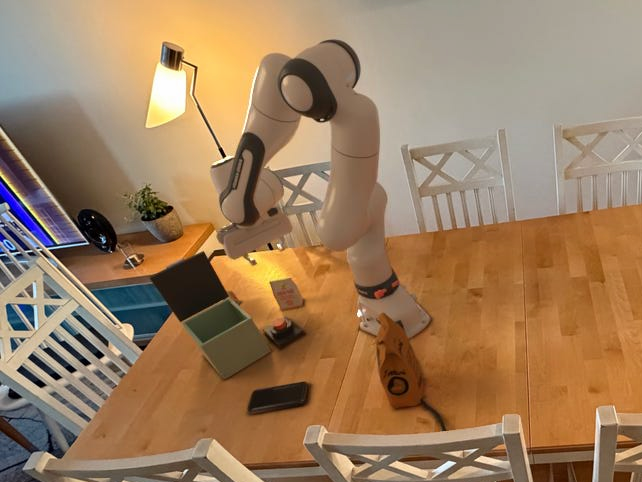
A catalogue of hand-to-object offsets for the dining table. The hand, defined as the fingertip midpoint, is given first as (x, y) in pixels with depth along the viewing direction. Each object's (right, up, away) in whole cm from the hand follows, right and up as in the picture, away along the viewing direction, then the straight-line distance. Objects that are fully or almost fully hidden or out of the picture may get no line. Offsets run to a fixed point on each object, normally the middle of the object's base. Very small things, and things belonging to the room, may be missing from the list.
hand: (268, 257), depth 152 cm
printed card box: (+3, -13, +13) cm, 18 cm away
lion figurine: (-16, -16, +14) cm, 26 cm away
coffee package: (+45, -39, -23) cm, 64 cm away
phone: (+11, -41, -18) cm, 47 cm away
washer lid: (-15, -11, -13) cm, 23 cm away
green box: (-8, -29, -2) cm, 30 cm away
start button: (+4, -21, 0) cm, 21 cm away
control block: (+4, -23, +2) cm, 24 cm away
